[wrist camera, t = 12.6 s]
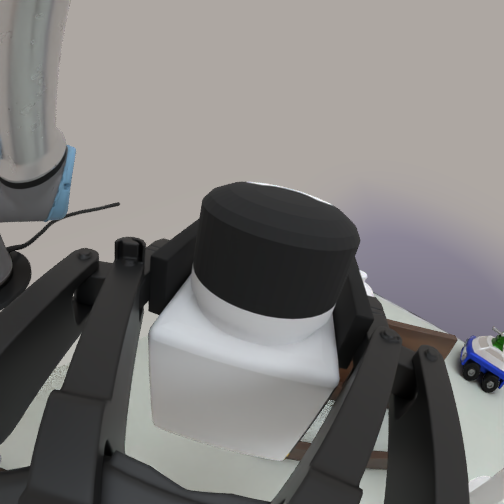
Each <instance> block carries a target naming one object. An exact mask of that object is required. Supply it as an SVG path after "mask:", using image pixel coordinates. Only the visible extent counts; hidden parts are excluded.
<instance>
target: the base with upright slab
mask: <svg viewBox="0 0 504 504" xmlns="http://www.w3.org/2000/svg"><path fill="white" fill-rule="evenodd" d="M468 484H469V498H470V504H504V468H503V469H502V470H501V471H499V472H498V473H497V474H496V475H494V476H493V477H490V476H479V477H476V478H474V479H472V480H471V481H469V482H468Z"/></svg>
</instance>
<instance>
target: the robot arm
mask: <svg viewBox="0 0 504 504" xmlns="http://www.w3.org/2000/svg"><path fill="white" fill-rule="evenodd" d="M70 2H71V0H0V222H24V221H44V222H47V221H48V220H52V221H51V222H49V223H48V224H47V225H46V226H45V227H44V228H43V229H42V230H41V231H40V232H38V233H37V234H36V235H35V236H34V237H33V238H31V239H30V240H29V241H27V242H26V243H24V244H21V245H15V246H10V247H5V245H4V242H3V240H2V237H1V235H0V289H1V288H2V287H4V286H5V285H6V284H7V283H8V281H9V280H10V278H11V277H12V274H13V265H12V260H11V257H10V254H9V253H8V252H11V251H15V250H20V249H24V248H26V247H27V246H29V245H31V244H32V243H33V242H34V241H35V240H37V238H39V237H40V236H41V235H42V234H43V233H44V232H45V231H46V230H47V229H48V228H49V227H50V226H51V225H53V224H54V223H56V222H58V221H60V220H62V219H65V218H68V217H71V216H75V215H79V214H82V213H88V212H93V211H99V210H103V209H107V208H111V207H115V206H119V205H120V203H119V202H118V203H113V204H110V205H105V206H101V207H96V208H91V209H85V210H80V211H76V212H72V213H69V214H67V211H68V204H69V195H70V186H71V179H72V173H73V166H74V160H75V154H76V149H75V148H74V147H71V146H69V145H66V141H65V137H64V135H63V133H62V132H61V131H60V130H59V129H58V128H57V127H56V99H57V98H56V97H57V84H58V72H59V62H60V55H61V48H62V41H63V35H64V29H65V24H66V20H67V15H68V10H69V6H70ZM198 225H199V219H198V220H197V221H195V222H194V223H193V224H191V225H190V226H189V227H187V228H186V229H185V230H183V231H182V232H181V233H179V234H178V235H177V236H175V237H174V238H173V239H171V240H167V239H160V240H157V241H155V242H153V243H152V244H151V245H149V246H148V247H146V243H145V242H144V241H143V240H141V239H139V238H135V237H123V238H120V239H117V240H116V241H115V260H114V262H113V263H108V262H101V261H99V254H98V252H96V251H95V250H92V249H88V248H85V249H84V248H82V249H79V250H76V251H74V252H72V253H71V254H70V255H69V256H67V257H66V258H65V259H63V260H62V261H60V262H59V263H58V264H57V265H55V266H54V267H53V268H52V269H50V270H49V271H48V272H47V273H45V274H44V275H43V276H42V277H40V278H39V279H38V280H37V281H36V282H34V283H33V284H32V285H31V286H30V287H28V288H27V289H26V290H25V291H24V292H23V293H21V294H20V295H19V296H18V297H17V298H16V299H15V300H13V301H12V302H11V303H10V304H9V305H8V306H7V307H6V308H5V309H3V310H2V311H1V312H0V444H2V443H3V442H4V441H5V439H6V438H7V437H8V436H9V435H10V434H11V433H12V431H13V430H14V428H15V427H16V425H17V424H18V423H19V421H20V419H21V418H22V416H23V415H24V413H25V411H26V410H27V408H28V407H29V405H30V404H31V402H32V401H33V399H34V398H35V396H36V395H37V393H38V392H39V390H40V389H41V387H42V386H43V385H44V383H45V382H46V380H47V379H48V377H49V376H50V375H51V373H52V372H53V370H54V369H55V368H56V366H57V365H58V363H59V362H60V361H61V359H62V358H63V356H64V355H65V354H66V353H67V351H68V350H69V349H70V347H71V346H72V344H73V343H74V342H75V341H76V339H77V338H78V337H79V335H80V334H81V336H80V339H79V341H78V344H77V346H76V349H75V352H74V354H73V357H72V360H71V363H70V365H69V368H68V371H67V374H66V377H65V380H64V383H63V386H62V388H61V389H60V390H55V389H54V390H53V391H52V392H51V393H50V395H49V397H48V400H47V403H46V407H45V410H44V413H43V417H42V420H41V424H40V427H39V431H38V435H37V439H36V443H35V447H34V451H33V455H32V460H31V465H30V466H28V467H23V468H18V469H12V470H6V471H0V504H359V503H360V500H361V498H362V495H363V490H362V489H361V488H359V483H360V481H361V478H362V476H363V474H364V471H365V469H366V466H367V464H368V461H369V459H370V456H371V453H372V451H373V448H374V445H375V442H376V440H377V437H378V434H379V431H380V428H381V425H382V422H383V418H384V415H385V412H386V408H387V405H388V406H389V436H388V463H387V478H386V489H385V499H384V504H470V498H469V484H468V473H467V464H466V457H465V450H464V443H463V437H462V432H461V426H460V421H459V417H458V412H457V407H456V403H455V399H454V395H453V391H452V387H451V383H450V379H449V376H448V372H447V369H446V365H445V362H444V359H443V356H442V355H441V353H440V352H439V351H438V350H437V349H435V348H434V347H432V346H429V345H421V346H420V347H419V348H418V350H417V351H416V352H415V351H413V350H411V349H408V348H406V347H404V346H402V338H401V337H400V335H399V334H398V333H397V332H396V331H394V330H393V329H391V328H389V325H388V322H387V319H386V316H385V313H384V311H383V307H382V305H381V303H380V302H379V301H378V300H377V298H376V297H372V296H368V295H367V293H366V289H365V286H364V283H363V280H362V277H361V274H360V271H359V268H358V265H357V262H356V259H355V257H354V260H353V263H352V265H351V268H350V270H349V273H348V276H347V278H346V281H345V283H344V286H343V288H342V291H341V293H340V295H339V298H338V300H337V303H336V305H335V307H334V310H333V312H332V313H333V321H334V329H335V338H336V346H337V356H338V366H339V368H342V369H347V368H348V367H349V365H350V363H351V361H352V360H353V368H352V370H351V372H350V373H349V375H348V376H347V378H346V380H345V381H344V383H343V384H342V386H343V387H342V389H341V391H340V393H339V395H338V397H337V399H336V401H335V403H334V405H333V407H332V408H331V410H330V412H329V414H328V416H327V418H326V419H325V421H324V423H323V425H322V426H321V428H320V430H319V432H318V433H317V435H316V437H315V438H314V440H313V442H312V443H311V445H310V447H309V448H308V450H307V451H306V453H305V455H304V456H303V458H302V459H301V461H300V462H299V464H298V465H297V467H296V468H295V470H294V471H293V473H292V474H291V476H290V477H289V479H288V480H287V482H286V483H285V484H284V486H283V487H282V489H281V490H280V491H279V493H278V494H277V495H276V497H275V498H274V499H273V500H272V501H271V502H268V501H262V500H257V499H252V498H248V497H243V496H239V495H235V494H226V493H210V492H199V491H191V490H187V489H185V488H183V487H181V486H180V485H178V484H176V483H175V482H173V481H172V480H170V479H169V478H167V477H166V476H164V475H163V474H161V473H160V472H158V471H157V470H155V469H154V468H153V467H151V466H149V465H147V464H144V463H142V462H140V461H138V460H136V459H134V458H131V457H129V456H127V455H125V433H126V423H127V414H128V405H129V397H130V390H131V383H132V376H133V369H134V363H135V357H136V351H137V345H138V340H139V334H140V329H141V324H142V319H143V314H144V308H143V307H144V305H145V304H146V303H147V302H148V301H149V311H150V312H153V313H155V314H158V315H160V314H161V313H162V311H163V310H164V309H165V307H166V306H167V305H168V303H169V302H170V301H171V299H172V298H173V297H174V296H175V294H176V293H177V292H178V290H179V289H180V288H181V286H182V285H183V284H184V282H185V281H186V280H187V279H188V277H189V276H190V275H191V273H192V266H193V259H194V251H195V245H196V238H197V231H198ZM73 294H74V296H73ZM0 462H1V455H0Z"/></svg>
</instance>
